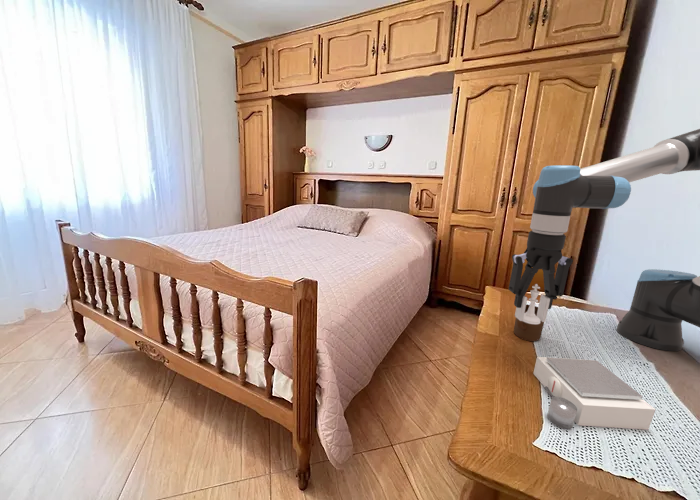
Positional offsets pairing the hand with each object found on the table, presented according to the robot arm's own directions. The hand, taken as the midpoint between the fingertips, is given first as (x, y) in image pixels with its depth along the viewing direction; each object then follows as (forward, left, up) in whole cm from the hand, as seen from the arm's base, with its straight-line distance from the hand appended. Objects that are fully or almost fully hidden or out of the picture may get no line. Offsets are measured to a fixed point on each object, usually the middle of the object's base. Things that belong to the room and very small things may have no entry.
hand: (529, 318), depth 75 cm
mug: (-8, -14, -14) cm, 21 cm away
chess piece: (0, 0, -1) cm, 1 cm away
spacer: (+2, +19, -14) cm, 23 cm away
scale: (-8, +12, -14) cm, 20 cm away
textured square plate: (-8, +12, -8) cm, 17 cm away
